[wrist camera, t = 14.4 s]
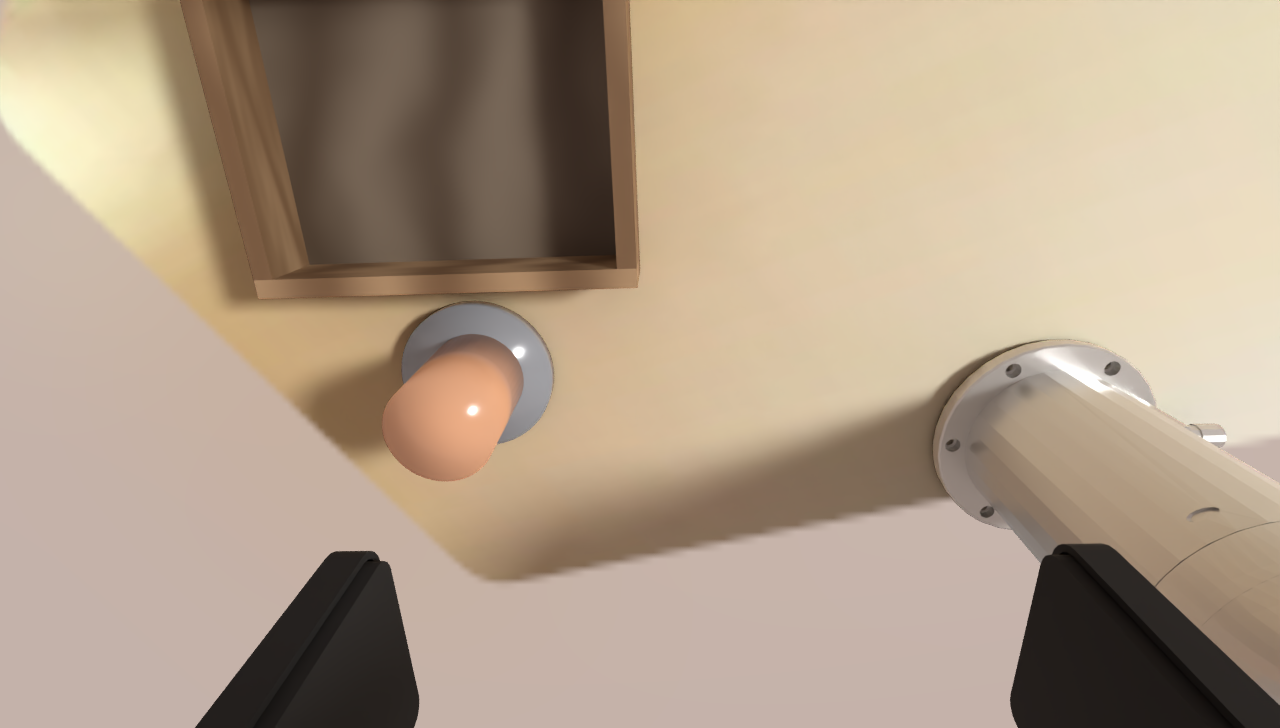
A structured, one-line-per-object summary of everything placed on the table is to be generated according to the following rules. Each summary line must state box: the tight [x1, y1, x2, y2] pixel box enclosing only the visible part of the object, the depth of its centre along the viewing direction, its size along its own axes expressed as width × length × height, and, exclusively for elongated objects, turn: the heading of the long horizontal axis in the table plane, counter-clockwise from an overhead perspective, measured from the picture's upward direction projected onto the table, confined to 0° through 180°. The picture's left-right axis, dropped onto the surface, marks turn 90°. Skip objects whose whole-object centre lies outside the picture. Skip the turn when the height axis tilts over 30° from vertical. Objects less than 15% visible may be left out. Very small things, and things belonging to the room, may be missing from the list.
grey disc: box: [402, 301, 554, 444], centre depth 38 cm, size 9×9×1 cm
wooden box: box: [180, 0, 640, 299], centre depth 32 cm, size 20×16×4 cm
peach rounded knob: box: [382, 334, 524, 481], centre depth 34 cm, size 6×6×7 cm
